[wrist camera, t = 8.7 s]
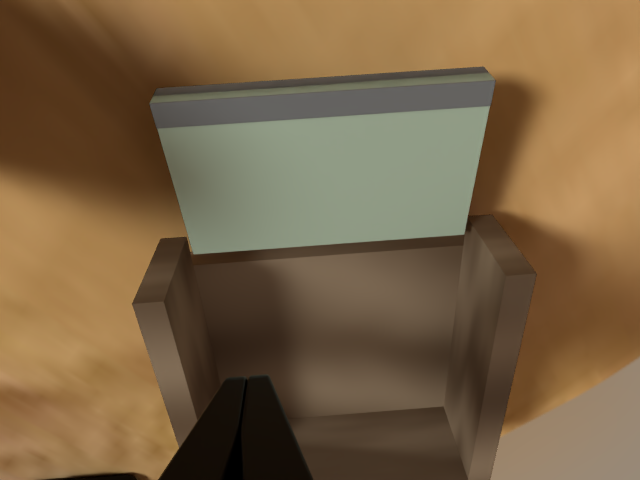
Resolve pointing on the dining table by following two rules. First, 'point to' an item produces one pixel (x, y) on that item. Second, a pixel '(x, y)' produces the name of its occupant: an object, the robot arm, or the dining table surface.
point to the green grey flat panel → (324, 157)
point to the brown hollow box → (351, 344)
